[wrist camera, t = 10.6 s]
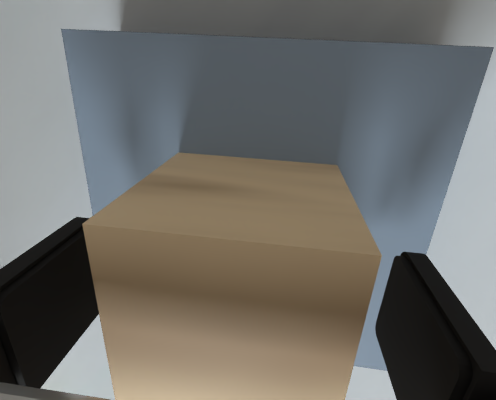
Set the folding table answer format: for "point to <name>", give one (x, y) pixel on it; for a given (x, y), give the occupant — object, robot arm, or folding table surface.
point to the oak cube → (232, 281)
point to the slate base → (283, 120)
